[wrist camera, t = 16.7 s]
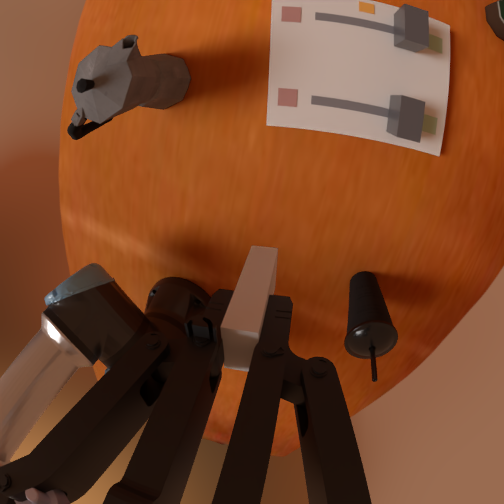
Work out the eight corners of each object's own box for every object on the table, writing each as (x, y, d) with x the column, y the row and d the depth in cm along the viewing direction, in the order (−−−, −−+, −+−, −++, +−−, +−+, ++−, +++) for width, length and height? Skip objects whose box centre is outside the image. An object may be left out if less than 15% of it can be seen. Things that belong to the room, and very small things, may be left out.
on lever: (386, 131, 30) (396, 137, 26) (390, 95, 27) (401, 94, 23) (407, 136, 30) (419, 143, 25) (411, 100, 27) (425, 101, 23)
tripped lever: (393, 46, 24) (404, 39, 20) (393, 14, 21) (404, 3, 17) (415, 52, 23) (429, 47, 19) (415, 20, 20) (428, 11, 16)
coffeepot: (173, 33, 30) (92, 13, 15) (213, 68, 33) (142, 57, 18) (116, 104, 38) (33, 124, 23) (149, 139, 40) (70, 173, 25)
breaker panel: (269, 123, 36) (266, 125, 34) (275, -5, 25) (272, -11, 23) (432, 152, 32) (439, 156, 30) (442, 28, 21) (449, 25, 19)
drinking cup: (368, 255, 43) (387, 353, 26) (391, 283, 44) (413, 379, 28) (332, 280, 47) (332, 379, 30) (358, 305, 48) (364, 400, 32)
